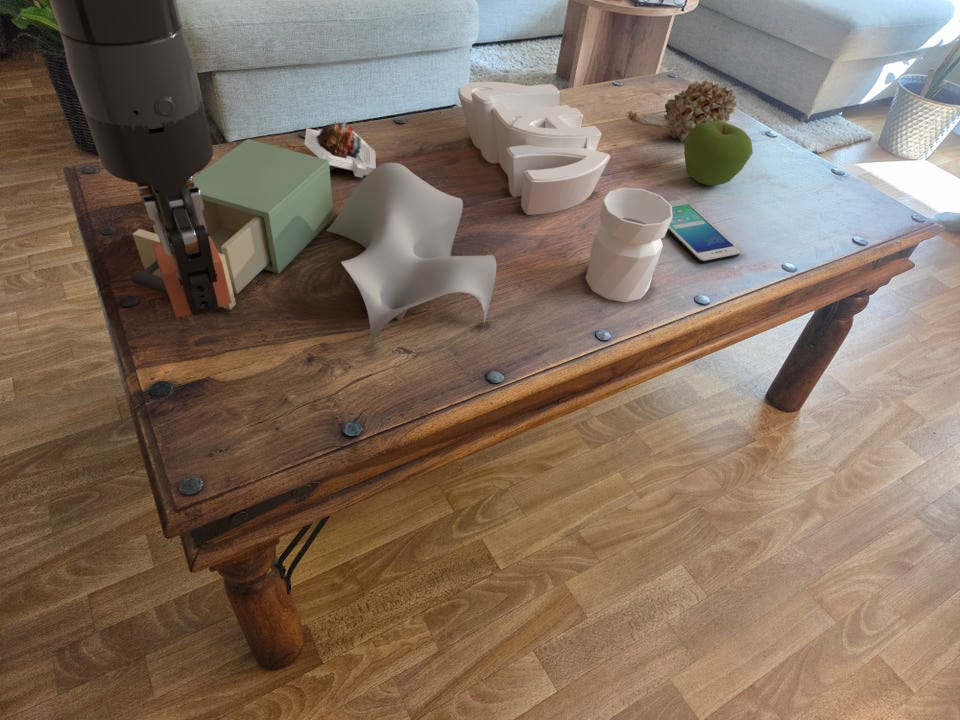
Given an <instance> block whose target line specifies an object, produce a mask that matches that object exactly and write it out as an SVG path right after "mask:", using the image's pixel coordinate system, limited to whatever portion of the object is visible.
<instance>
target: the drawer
mask: <svg viewBox="0 0 960 720" xmlns="http://www.w3.org/2000/svg"><path fill="white" fill-rule="evenodd" d="M202 201H203V204H204V210H203V212H202V213H203V217H204V220H205V224H206V227H207V229H208V231H209V235H210V237H211V239H212V241H213V244H214V246H215V248H216V250H217V252H218V254H219V256H220V258H221V260H222V264H223V268H224V272H225V276H226V281H227V285H228V289H229V293H230V297H231V302H232V303H231V304H227V305H223V306H219V307H220V308H223V309H226V310H232V309H233V308H234V307H235V306H236V305H237V303H236V298H235V295H238V294H239V293H240V292H241V291H242V290H243V289H244V288H245V287H246V286H247V285H248V284H249V283H250V282H252V280H254V279H255V278H256V276H258V275H259V273H261V271H263V270H264V269H263V268H265V267H266V266H267V265H268V264H269V263H270V262H271V255H270V249H269V244H268V238H267V232H266V227H265V221H264V217H262V216H258V215H255V214H251V213H248V212H244V211H241V210H237V209H234V208H230V207H227V206H223V205H220V204H216V203H213V202H209V201H206V200H202ZM196 226H197V223H196ZM152 228H153V231H154V232H150V231H148V230H145V229H141V228H138V229H137V230H135V231H134V232H133V233H132V235H131V236H132V238H133V240H134V243H135V246H136V249H137V252H138V255H139V257H140V261H141V264H142V266H143V270H140V269H137V270H135V271H133V273H132V275H131V282H132V283H133V284H135V285H138V286H140V287H144V288H147V289H150V290H153V291H156V292H159V293H162V294H165V295H168V293H167V290H166V287H165V284H164V281H163V278H162V275H161V272H160V269H159V266H158V263H157V259H156V256H155V253H154V250H153V247H152V244H154V243H158V242H160V240H159V237H158V234H157V231H156V227H155V225H153V226H152Z"/></svg>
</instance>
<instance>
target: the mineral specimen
mask: <svg viewBox="0 0 960 720" xmlns="http://www.w3.org/2000/svg"><path fill="white" fill-rule="evenodd" d="M304 146H305V147H306V148H307V149H308V150H310V151H311V152H312V153H313V155H314V156H315V157H318V158H321V159H325V160H329V169H330V172H331V171H332V170H333V171H334V169H335V171H336V172H337V173H338V172H339V170H340V169H344V170H348V171H352V172H353V176H354V177H357V178H361V179H364V176H365V177H366V176H367V175H368V174H369V173H370V172H371V171H373V170H374V169H375V168H377V164H376V162H377V159H376V158H377V157H376V151H375V150H374V149H373V148H372V147H371V146H370V145H369V144H368V143H367V142H366V141H365V140H364V139H363V138H362V137H361V136H359V135H358V134H357V133H356V132H355V131H354V129H353V127H352V126H351V125H349V124H348V122H344V121H340V122H339V121H338V122H336V121H335V122H332V123H330V124H327V125H324V126H323V127H322V128H320V129H318V130H316V129H312V128H306V130H305V138H304Z"/></svg>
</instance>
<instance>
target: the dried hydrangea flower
mask: <svg viewBox="0 0 960 720" xmlns="http://www.w3.org/2000/svg"><path fill="white" fill-rule="evenodd" d="M727 88H728V85H726V86H724V85H721V86H720V85H719V82H716V83H715V84H714V83H713V81H712V82H709V81H708V80H704V81H702V82H701V83H700V82H699V81H698V80H696V81H694V82H693V83H691V82H690V83H689V85H688V86H687V88H686V90H681V92H679V93H678V94H676V93H675V94H674V99H673V98H671V99H667V102H666V103H665V104H664V108H665V113H666V114H664V115H663V118H664V119H655V118H649V117H646V116H643V115H640V114H638V113H637V112H634V111H633V110H629V111H625V113H626V114H628V115H627V116H626V118H627V119H628V120H630V121H631V122H633V123H637V124H640V125H643V126H649V127H654V128H665V129H669V135H670V136H671V137H672V138H673V139H677V138H678V139H679V140H680V141H681V142H683V141H685V138H686V137H687V135H688V134H689V132H690V131H691V130H692V129H693V128H694V127H695V126H697V125H700V124H703V123H706V122H710V121H719V122H725V123H727V122H728V121H729V120H730V117H731V114H733V113H735V108H736V106H737V102H735V99H736V96H734V95H733V93H734V92H733V89H730V90H727Z"/></svg>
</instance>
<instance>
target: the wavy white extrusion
mask: <svg viewBox="0 0 960 720" xmlns="http://www.w3.org/2000/svg"><path fill="white" fill-rule="evenodd" d="M457 95H458V98H459V102H460V105H461V108H462V112H463V115H464V118H465V122H466V125H467V129H468V131H469V135H470V138H471V141H472V145H473V146H474V147H476V148H477V149H479V150H480V153H481V156H482V158H483V159H484V160H485V161H487V162H488V163H490V164H499V165H500V168H501V169H502V170H503V172H504V173H505V174H506V175H507V178H508V179H507V180H508V192H509V194H510V195H511V196H512V197H513V198H516V197H521V200H520V208H521V210H522V211H523V212H524V213H525V214H526V215H527V216H530V215H531V216H533V215H544V214H545V215H546V214H552V213H557V212H562V211H565V210H568V209H571V208H573V207H576V206H578V205H579V204H581V203H583V202H585V201H586V200H587V199H588V198H589V197H590V196H591V195H592V193H593V191H594V190H595V188H596V186H597V184H598V182H599V181H600V178H601V177H602V175H603V172H604V170H605V168H606V167H607V165H608V163H609V160H611V159H610V158H611V157H612V155H610V154H609V153H607V152H604V151H603V152H602V151H599V150H597V149H598V147H599V143H600V140H601V137H602V132H601V131H600V129H599V128H598V127H596V126H595V125H591V126H582V124H583V119H584V115H583V113H582V112H581V111H580V110H579V109H578V108H577V107H570V106H569V105H568V104H562V105H560V99H561V97H560V96H561V92H560V90H559V88H557V86H555V85H554V84H551V83H546V84H535V85H534V84H533V85H524V84H520V83H514V82H503V81H474V82H473V81H472V82H468V83H465V84H463V85H462V86H460V87H459V88H458V90H457Z"/></svg>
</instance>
